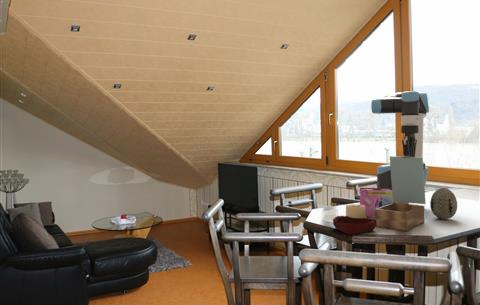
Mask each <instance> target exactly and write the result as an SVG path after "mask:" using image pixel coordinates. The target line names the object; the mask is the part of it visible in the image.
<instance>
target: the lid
mask: <svg viewBox="0 0 480 305" xmlns="http://www.w3.org/2000/svg"><path fill="white" fill-rule="evenodd" d="M423 162H424V157H409V156H404V155H401V156H396V155H395V156H393V155H390V156H389V164H390V169H391V182H392V195H393V201H398V202H408V203H409V204H416V205H426V189H425V188H426V185H425V186H424V169H423Z"/></svg>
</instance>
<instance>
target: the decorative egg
mask: <svg viewBox="0 0 480 305" xmlns="http://www.w3.org/2000/svg"><path fill="white" fill-rule="evenodd" d="M429 202H430V204H429V206H430V211H431V213H432V214H433V215H434V216H435V217H436V218H438V219H441V220H448V219H450V218H453V217H454V216H455V214H457V211H458V201H457V197H456V196H455V193H454V192H453V191H452V190H451V189H449V188H446V187H441V188H438V189H436V190H435V191H434V192H433V193H432V196H431V198H430V200H429Z"/></svg>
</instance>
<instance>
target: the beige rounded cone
mask: <svg viewBox="0 0 480 305" xmlns="http://www.w3.org/2000/svg"><path fill="white" fill-rule="evenodd" d="M345 216H349V217H352V218H366V216H365V206H364V205H360V203H359V204H358V203H357V204H356V203H353V204H352V203H350V204H349V203H348V204H346V205H345Z"/></svg>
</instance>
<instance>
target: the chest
mask: <svg viewBox="0 0 480 305" xmlns="http://www.w3.org/2000/svg"><path fill="white" fill-rule="evenodd" d="M374 219H376V228H378V227H379V229H384V228H385V229H386V230H393V231H397V232H398V231H399V232H406V233H408V232H409V231H411V230H413V229H415V228H418V227H419V226H422V225H423V224H425V205H422V204H413V203H409V204H403V203H391V204H388V205H385V206H382V207H379V208H376V209H375V217H374Z"/></svg>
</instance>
